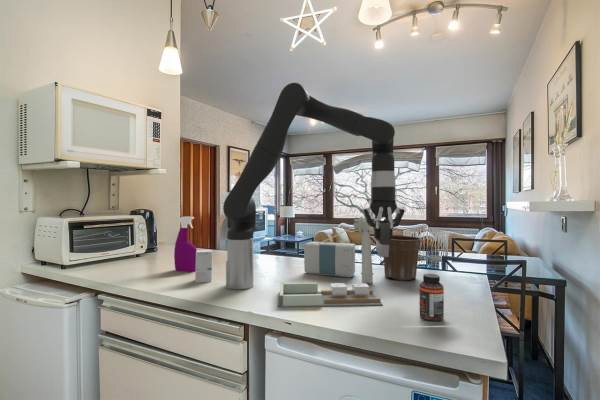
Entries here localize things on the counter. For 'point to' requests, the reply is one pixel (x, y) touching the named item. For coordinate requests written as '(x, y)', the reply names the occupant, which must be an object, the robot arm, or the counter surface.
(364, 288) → the white small cube
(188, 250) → the spray bottle
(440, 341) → the counter surface
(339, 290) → the white cube
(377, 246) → the scraper
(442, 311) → the supplement bottle
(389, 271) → the plant pot
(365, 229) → the white hammer
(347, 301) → the slot board
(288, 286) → the tray
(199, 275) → the skincare box
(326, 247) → the white striped box
